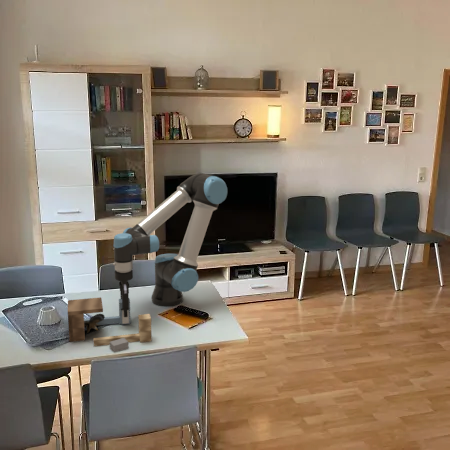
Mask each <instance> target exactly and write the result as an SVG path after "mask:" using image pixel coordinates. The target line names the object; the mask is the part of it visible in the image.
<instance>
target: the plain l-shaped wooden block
mask: <svg viewBox="0 0 450 450" xmlns="http://www.w3.org/2000/svg"><path fill="white" fill-rule="evenodd" d="M137 315H138V333H130V334H120V335H111V336H101V337H93V347H101V346H108V345H109V346H110V342H111V341H114V340H118V339H121V338H125V339H126V340H127V341H128V343H135V342H139V343H146V342H147V343H149V342H152V317H151V313H144V314H137Z"/></svg>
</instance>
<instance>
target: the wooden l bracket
mask: <svg viewBox="0 0 450 450" xmlns="http://www.w3.org/2000/svg"><path fill="white" fill-rule="evenodd" d="M103 307H104V306H103V301H102V297H101V296H100V297H92V298H91V297H89V298H78V299H67V320H68V322H67V323H68V324H67V325H68V336H69V337H68V339H69V343H73V342H74V343H75V342H82V341H86V336H85V335H86V334H85V333H86V332H85V330H86V329H84V328H85V326H84V319H85V315H86V314H87V315H88V314H100V313H103V312H104V308H103Z"/></svg>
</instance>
